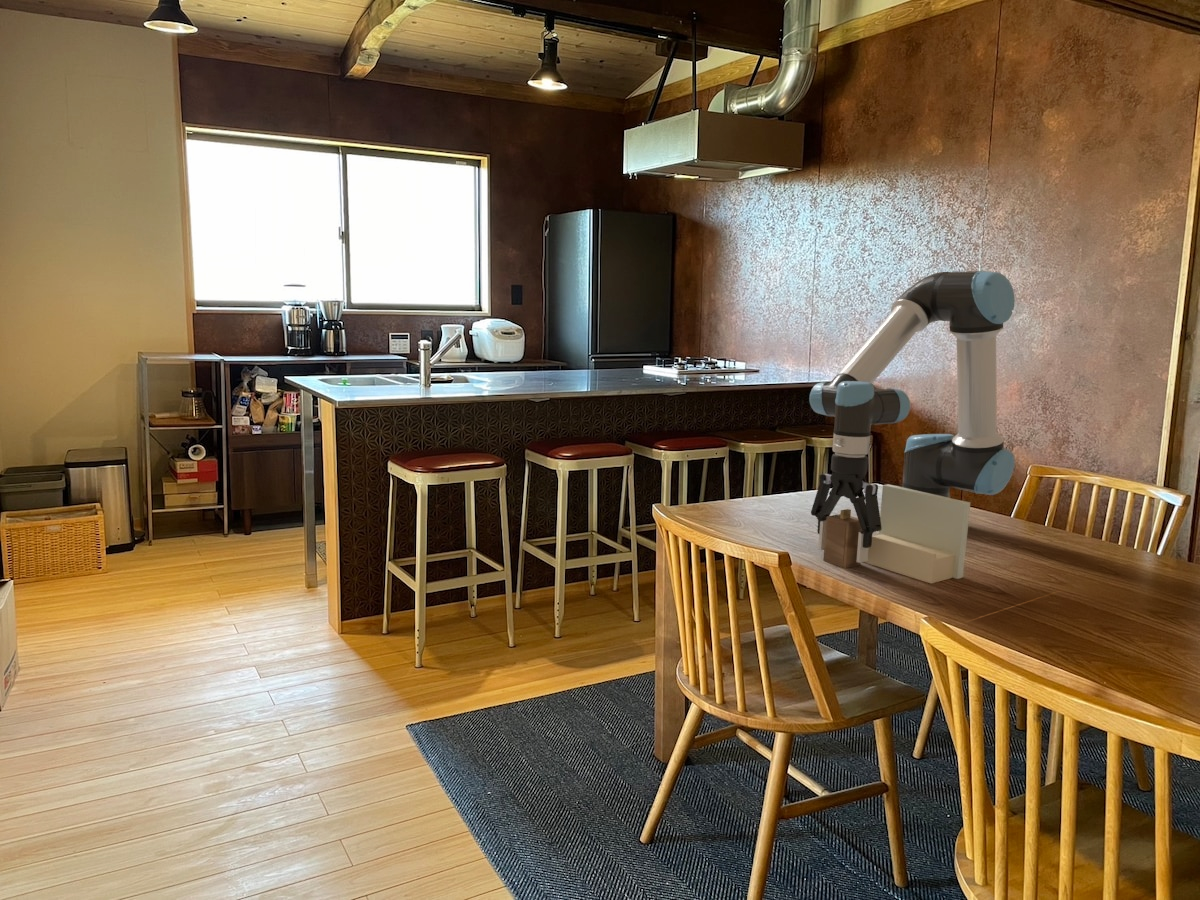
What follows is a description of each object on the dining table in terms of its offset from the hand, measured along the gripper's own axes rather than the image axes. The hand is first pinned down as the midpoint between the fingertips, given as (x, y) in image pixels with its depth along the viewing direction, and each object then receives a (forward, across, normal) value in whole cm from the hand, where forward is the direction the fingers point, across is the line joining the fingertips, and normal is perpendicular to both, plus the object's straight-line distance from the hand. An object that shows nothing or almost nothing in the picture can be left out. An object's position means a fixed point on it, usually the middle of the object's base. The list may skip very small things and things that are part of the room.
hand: (842, 555), depth 187 cm
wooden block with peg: (+2, 0, 0) cm, 2 cm away
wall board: (+2, +10, +9) cm, 14 cm away
